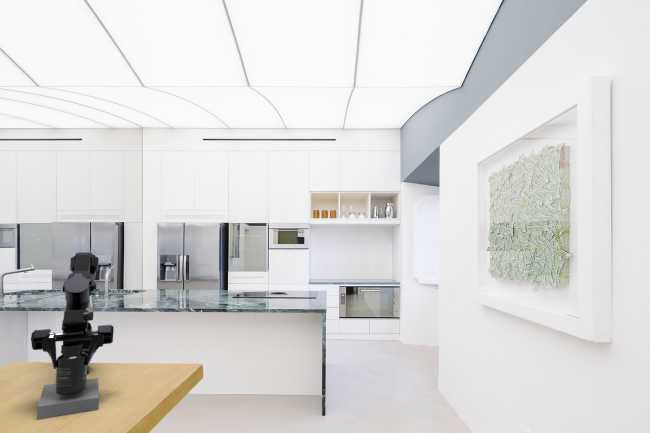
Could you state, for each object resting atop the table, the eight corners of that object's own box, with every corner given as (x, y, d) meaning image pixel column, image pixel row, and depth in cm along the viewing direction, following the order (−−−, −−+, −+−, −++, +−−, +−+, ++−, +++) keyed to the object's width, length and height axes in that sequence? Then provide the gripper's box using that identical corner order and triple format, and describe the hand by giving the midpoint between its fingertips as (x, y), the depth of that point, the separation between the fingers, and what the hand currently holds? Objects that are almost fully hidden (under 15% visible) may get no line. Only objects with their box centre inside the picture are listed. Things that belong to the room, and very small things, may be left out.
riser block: (43, 396, 112) (44, 385, 113) (97, 388, 119) (98, 377, 119) (36, 419, 99) (37, 406, 99) (98, 409, 105) (99, 397, 105)
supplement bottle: (92, 388, 108) (93, 342, 108) (64, 398, 102) (65, 349, 102) (77, 383, 111) (78, 339, 111) (49, 392, 105) (51, 345, 105)
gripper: (34, 299, 106) (23, 354, 96) (115, 295, 115) (113, 346, 105) (37, 322, 113) (27, 377, 103) (113, 318, 122) (111, 367, 112)
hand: (71, 366), depth 105 cm, fingers closed on supplement bottle, 7 cm apart
